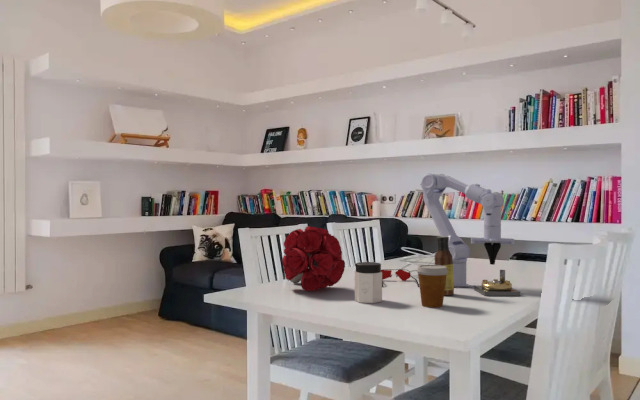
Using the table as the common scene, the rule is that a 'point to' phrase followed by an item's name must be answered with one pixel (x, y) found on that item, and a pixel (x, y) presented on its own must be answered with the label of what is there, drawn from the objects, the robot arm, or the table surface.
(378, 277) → the jar
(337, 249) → the bouquet
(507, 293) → the base plate
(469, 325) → the table surface
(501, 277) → the gold round piece
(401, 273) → the glasses
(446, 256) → the sauce bottle
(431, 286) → the disposable coffee cup
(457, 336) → the table surface
